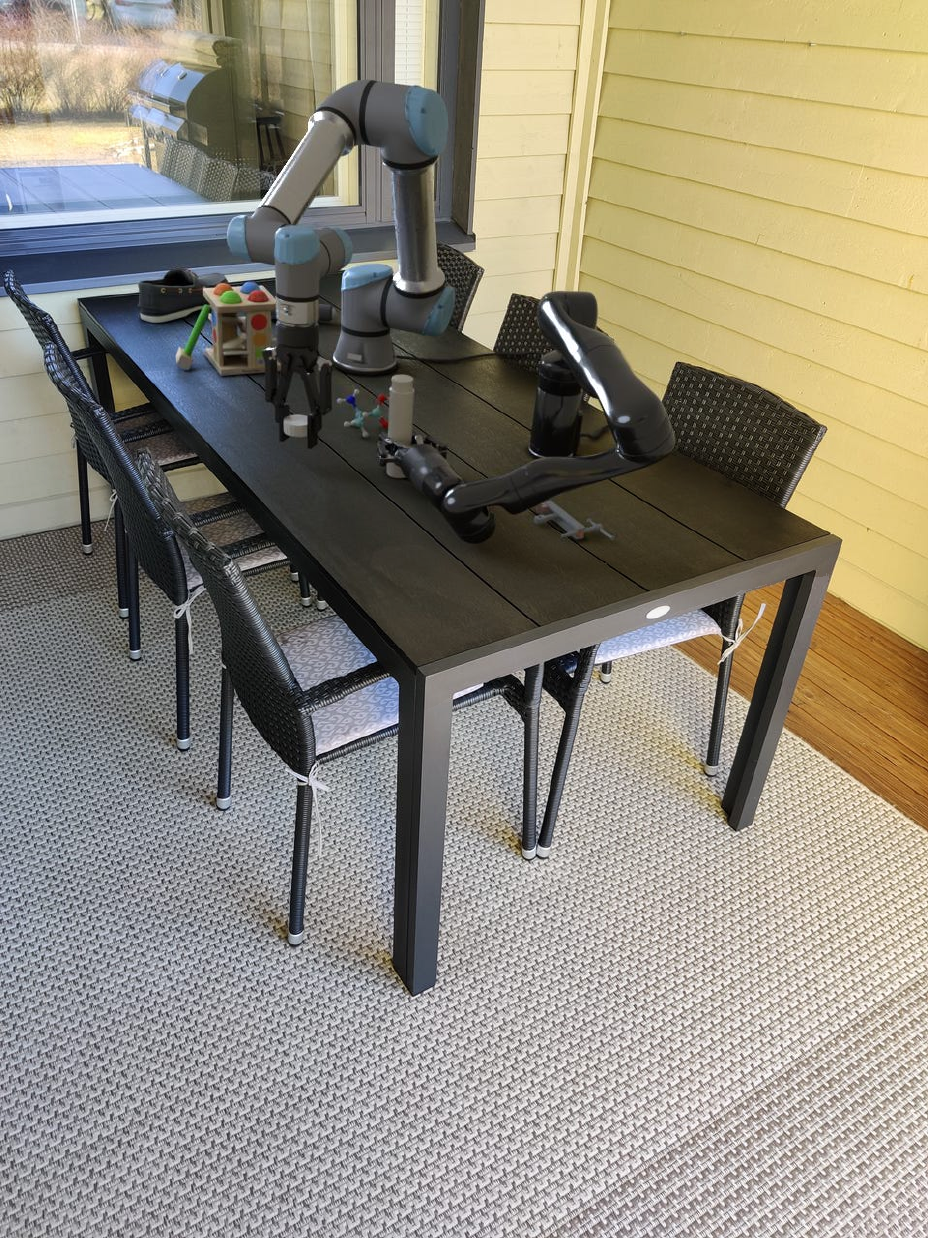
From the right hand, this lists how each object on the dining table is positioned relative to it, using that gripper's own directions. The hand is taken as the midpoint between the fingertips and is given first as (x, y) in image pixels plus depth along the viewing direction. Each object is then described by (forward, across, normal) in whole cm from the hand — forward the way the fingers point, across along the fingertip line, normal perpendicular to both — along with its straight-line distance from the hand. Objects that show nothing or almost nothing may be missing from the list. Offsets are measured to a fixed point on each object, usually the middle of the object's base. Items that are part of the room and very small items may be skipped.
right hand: (394, 434), depth 189 cm
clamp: (-33, +21, -7) cm, 39 cm away
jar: (-3, 0, -7) cm, 7 cm away
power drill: (+95, +13, -7) cm, 96 cm away
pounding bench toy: (+61, -18, -7) cm, 64 cm away
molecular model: (+19, +1, -7) cm, 20 cm away
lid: (+4, -18, +3) cm, 19 cm away
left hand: (+5, -18, -2) cm, 18 cm away
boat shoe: (+105, -17, -7) cm, 107 cm away
